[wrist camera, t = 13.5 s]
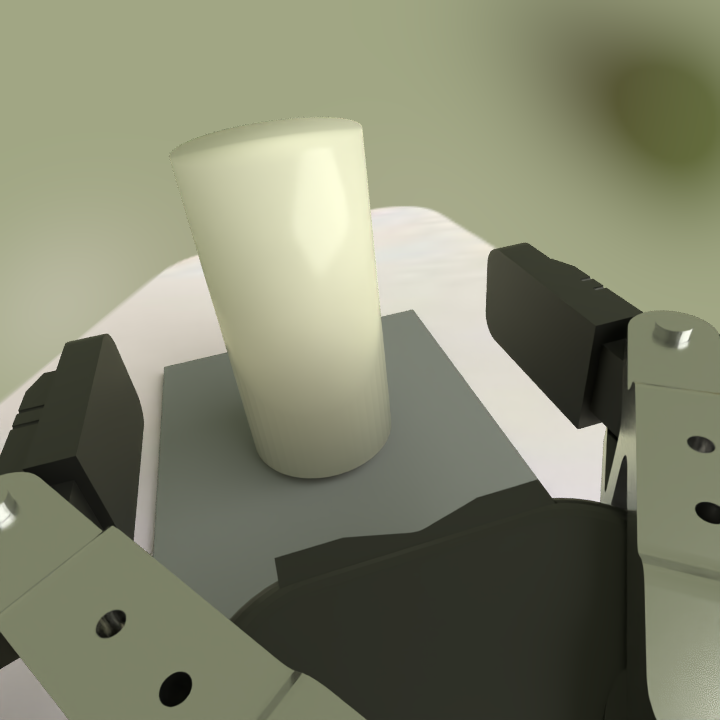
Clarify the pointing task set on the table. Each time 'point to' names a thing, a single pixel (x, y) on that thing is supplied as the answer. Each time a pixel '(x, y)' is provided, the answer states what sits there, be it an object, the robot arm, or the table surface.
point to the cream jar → (293, 285)
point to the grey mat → (315, 495)
